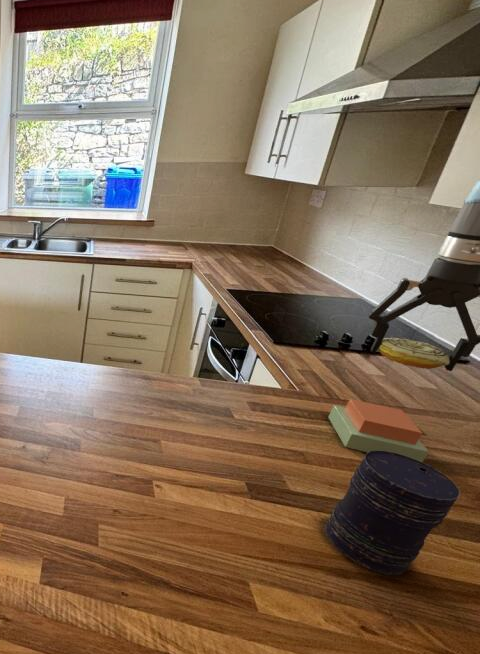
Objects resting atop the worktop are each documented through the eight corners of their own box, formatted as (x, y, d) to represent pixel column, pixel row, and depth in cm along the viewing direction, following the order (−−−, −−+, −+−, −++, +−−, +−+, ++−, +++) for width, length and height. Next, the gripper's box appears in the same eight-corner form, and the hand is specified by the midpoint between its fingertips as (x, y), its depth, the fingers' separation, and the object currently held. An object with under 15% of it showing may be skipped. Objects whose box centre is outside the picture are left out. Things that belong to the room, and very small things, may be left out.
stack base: (394, 432, 90) (401, 419, 89) (420, 465, 81) (429, 451, 79) (327, 417, 95) (333, 404, 94) (345, 447, 85) (352, 433, 84)
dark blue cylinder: (378, 583, 58) (431, 507, 51) (309, 527, 66) (347, 456, 60) (424, 565, 60) (479, 492, 54) (351, 514, 69) (392, 445, 63)
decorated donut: (459, 373, 83) (469, 357, 81) (405, 370, 83) (414, 354, 82) (411, 350, 92) (419, 335, 91) (363, 348, 93) (370, 333, 91)
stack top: (395, 421, 88) (402, 409, 87) (415, 445, 81) (422, 433, 80) (344, 409, 92) (349, 398, 91) (358, 431, 84) (364, 420, 83)
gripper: (383, 253, 83) (339, 347, 92) (567, 276, 69) (494, 385, 78) (382, 247, 88) (340, 338, 97) (553, 269, 74) (486, 372, 83)
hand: (409, 359), depth 88 cm, fingers closed on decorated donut, 11 cm apart
